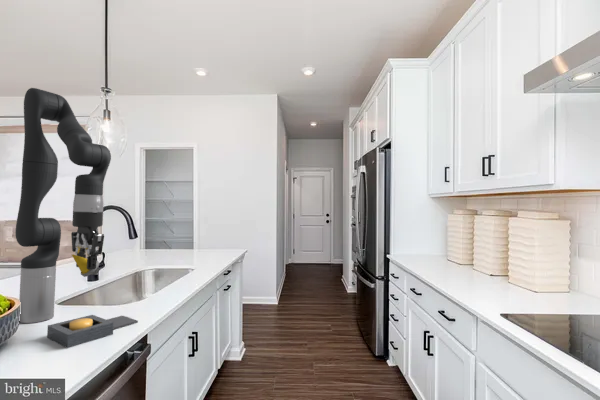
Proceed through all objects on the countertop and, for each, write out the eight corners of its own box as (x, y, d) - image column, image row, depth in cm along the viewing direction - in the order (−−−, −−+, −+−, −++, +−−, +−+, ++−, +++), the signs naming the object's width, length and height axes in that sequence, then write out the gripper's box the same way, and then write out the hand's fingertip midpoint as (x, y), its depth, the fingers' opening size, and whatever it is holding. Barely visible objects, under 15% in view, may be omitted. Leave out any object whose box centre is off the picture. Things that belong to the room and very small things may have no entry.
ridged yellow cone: (102, 278, 98) (75, 257, 92) (87, 284, 99) (60, 264, 93) (108, 264, 102) (83, 244, 97) (94, 271, 103) (68, 251, 97)
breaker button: (65, 330, 96) (65, 322, 96) (86, 325, 100) (86, 317, 100) (75, 334, 93) (75, 326, 93) (96, 329, 97) (96, 320, 97)
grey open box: (47, 337, 94) (47, 325, 95) (91, 325, 105) (92, 314, 105) (67, 348, 88) (67, 334, 88) (112, 334, 98) (113, 322, 98)
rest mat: (94, 324, 106) (94, 322, 106) (122, 317, 113) (122, 315, 113) (109, 330, 101) (110, 328, 101) (137, 322, 109) (137, 320, 109)
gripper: (62, 209, 99) (59, 267, 98) (87, 210, 91) (85, 273, 91) (88, 210, 105) (86, 264, 105) (114, 211, 98) (112, 269, 97)
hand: (86, 267), depth 98 cm, fingers closed on ridged yellow cone, 5 cm apart
